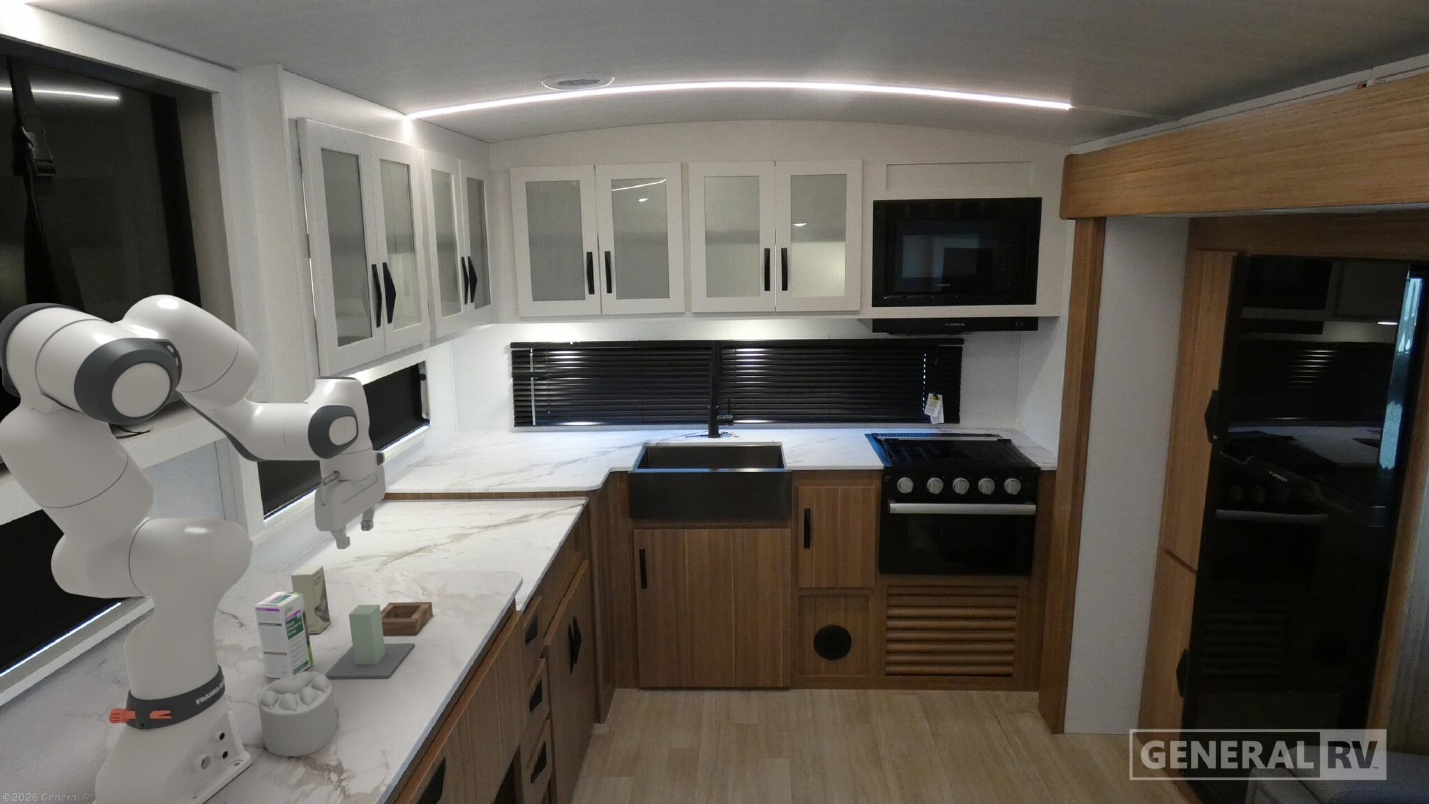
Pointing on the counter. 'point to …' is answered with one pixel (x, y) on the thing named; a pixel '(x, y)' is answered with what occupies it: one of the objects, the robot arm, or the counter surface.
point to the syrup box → (284, 634)
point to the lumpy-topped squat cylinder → (297, 714)
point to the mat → (382, 669)
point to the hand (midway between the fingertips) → (356, 538)
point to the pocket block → (405, 618)
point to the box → (313, 596)
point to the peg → (367, 634)
